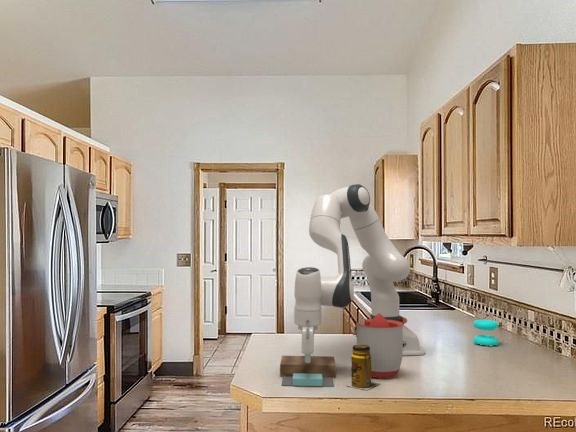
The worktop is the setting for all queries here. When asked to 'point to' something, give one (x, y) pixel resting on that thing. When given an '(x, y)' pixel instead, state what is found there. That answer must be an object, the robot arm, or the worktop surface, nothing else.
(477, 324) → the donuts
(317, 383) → the block
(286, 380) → the mat
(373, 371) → the citrus juicer
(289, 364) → the board
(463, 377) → the worktop surface
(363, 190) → the robot arm
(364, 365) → the condiment
